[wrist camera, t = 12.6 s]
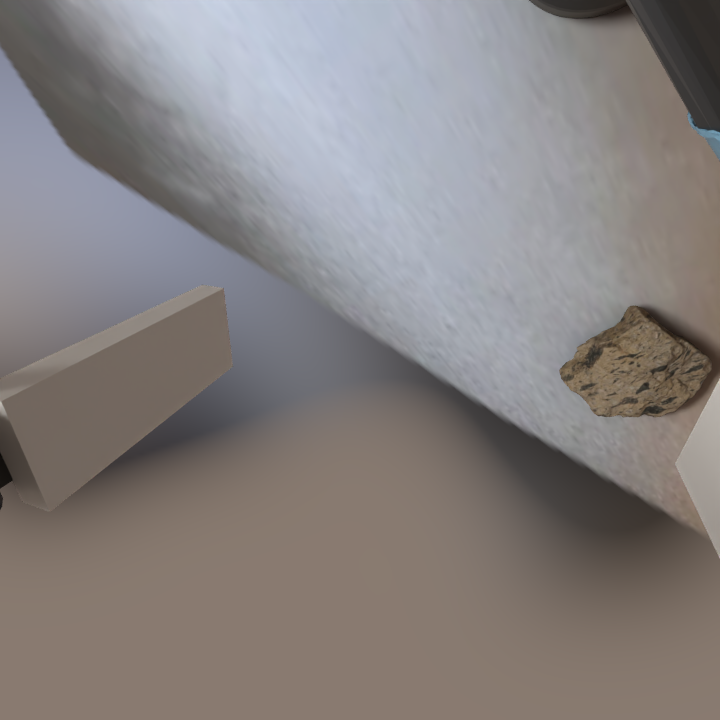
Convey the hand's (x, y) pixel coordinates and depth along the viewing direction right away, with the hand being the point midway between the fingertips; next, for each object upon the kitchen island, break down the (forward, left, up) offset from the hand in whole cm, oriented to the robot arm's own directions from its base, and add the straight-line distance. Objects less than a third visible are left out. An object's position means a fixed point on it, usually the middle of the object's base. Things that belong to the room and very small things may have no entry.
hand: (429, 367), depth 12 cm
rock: (+15, +17, -37) cm, 44 cm away
